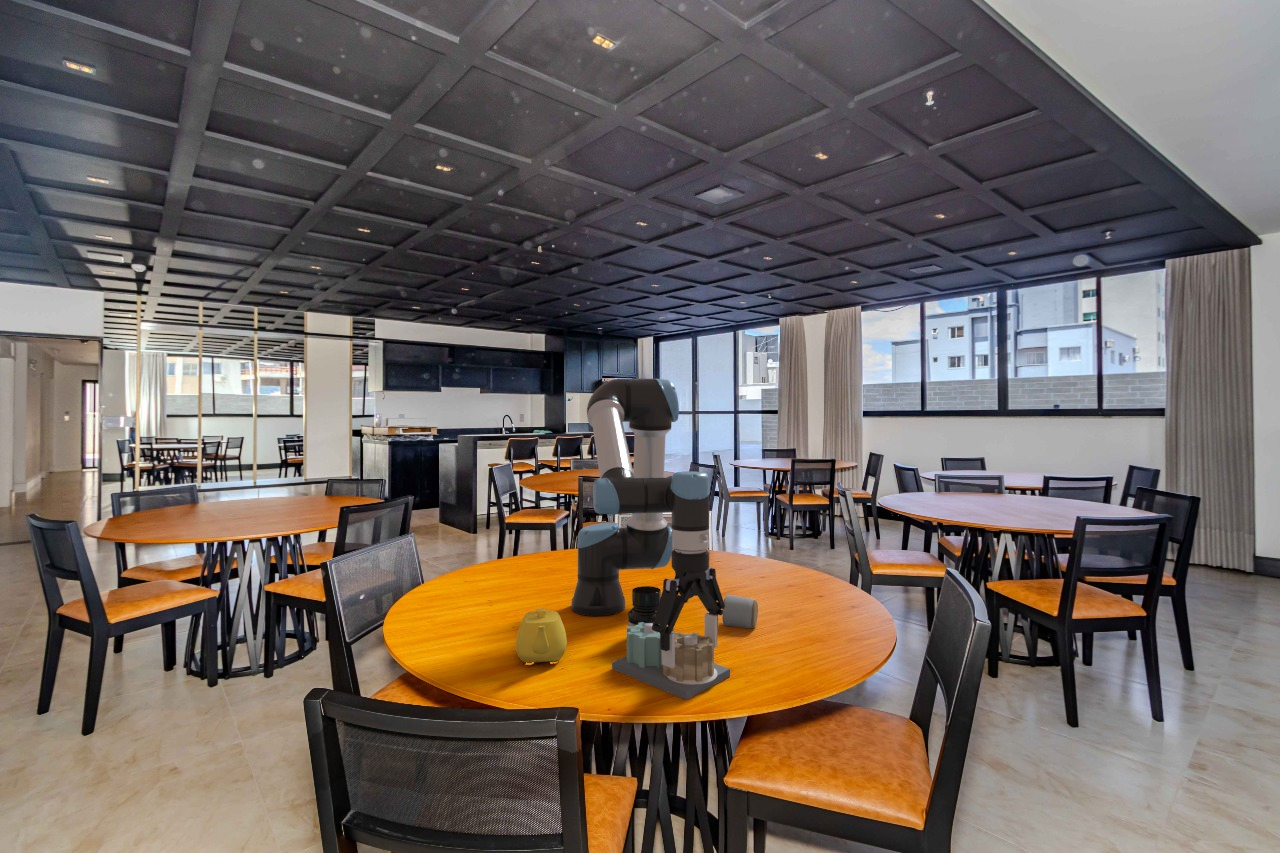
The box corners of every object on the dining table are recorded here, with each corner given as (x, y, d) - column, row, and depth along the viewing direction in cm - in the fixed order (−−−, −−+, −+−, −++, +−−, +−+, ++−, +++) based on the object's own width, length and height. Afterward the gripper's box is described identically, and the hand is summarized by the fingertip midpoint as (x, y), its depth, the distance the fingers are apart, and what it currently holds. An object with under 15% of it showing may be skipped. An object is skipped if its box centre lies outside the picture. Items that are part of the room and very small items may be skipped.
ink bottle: (629, 633, 142) (628, 584, 142) (664, 633, 141) (664, 584, 142) (627, 648, 132) (626, 595, 132) (665, 648, 132) (665, 595, 132)
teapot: (568, 675, 118) (567, 622, 118) (513, 679, 116) (512, 625, 116) (565, 643, 135) (565, 597, 135) (518, 646, 134) (518, 599, 134)
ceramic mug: (754, 632, 141) (754, 601, 142) (721, 629, 144) (721, 598, 144) (760, 620, 151) (760, 590, 152) (729, 617, 154) (729, 588, 154)
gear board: (610, 668, 121) (610, 627, 121) (655, 649, 131) (655, 612, 131) (689, 701, 106) (689, 654, 106) (733, 677, 116) (732, 635, 116)
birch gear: (652, 670, 115) (652, 640, 115) (685, 657, 122) (685, 628, 122) (690, 686, 108) (690, 654, 108) (723, 671, 115) (723, 641, 115)
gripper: (663, 564, 103) (663, 681, 103) (741, 542, 121) (741, 642, 121) (633, 557, 108) (633, 669, 109) (712, 537, 126) (712, 633, 127)
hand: (690, 655), depth 115 cm, fingers open, 13 cm apart
